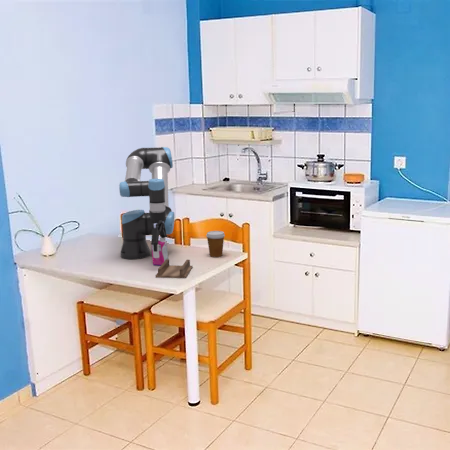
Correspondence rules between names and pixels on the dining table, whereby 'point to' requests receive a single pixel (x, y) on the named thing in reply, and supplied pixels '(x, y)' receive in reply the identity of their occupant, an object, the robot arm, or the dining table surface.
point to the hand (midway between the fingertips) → (159, 254)
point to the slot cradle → (174, 270)
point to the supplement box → (160, 253)
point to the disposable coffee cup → (215, 243)
